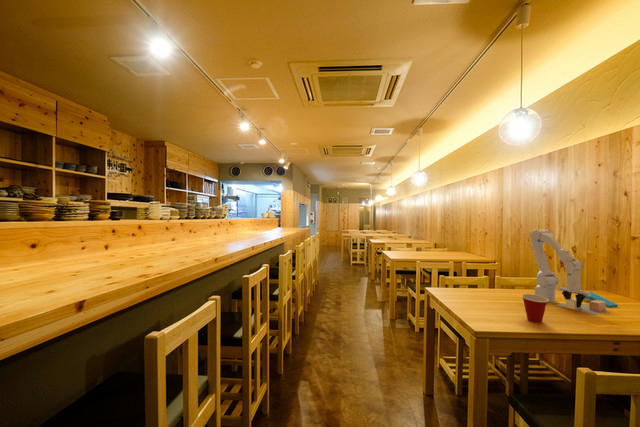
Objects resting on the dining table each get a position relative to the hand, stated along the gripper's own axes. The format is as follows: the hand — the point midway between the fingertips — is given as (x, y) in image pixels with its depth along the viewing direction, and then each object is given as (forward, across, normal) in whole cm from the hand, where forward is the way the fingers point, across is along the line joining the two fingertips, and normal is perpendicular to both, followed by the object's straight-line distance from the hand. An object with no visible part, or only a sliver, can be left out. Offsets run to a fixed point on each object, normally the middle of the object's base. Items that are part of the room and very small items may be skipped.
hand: (573, 306), depth 161 cm
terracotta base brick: (+1, +7, +8) cm, 11 cm away
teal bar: (+2, -2, +24) cm, 24 cm away
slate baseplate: (+2, +2, +4) cm, 5 cm away
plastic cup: (+2, +4, -40) cm, 40 cm away
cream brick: (+1, 0, 0) cm, 1 cm away
